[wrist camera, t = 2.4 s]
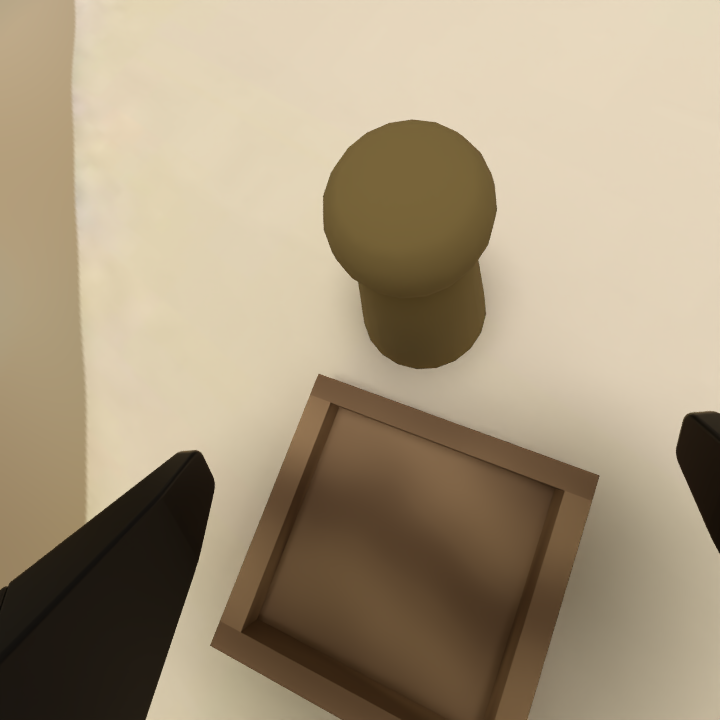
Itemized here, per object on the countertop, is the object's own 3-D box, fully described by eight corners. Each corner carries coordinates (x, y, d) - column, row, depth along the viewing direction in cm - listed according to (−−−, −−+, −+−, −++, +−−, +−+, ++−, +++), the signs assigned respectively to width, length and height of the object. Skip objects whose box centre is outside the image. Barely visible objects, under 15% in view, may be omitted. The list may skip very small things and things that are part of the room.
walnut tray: (493, 763, 18) (500, 808, 16) (236, 624, 21) (210, 645, 19) (581, 474, 20) (599, 475, 18) (332, 383, 23) (318, 373, 21)
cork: (343, 291, 24) (260, 155, 13) (445, 232, 24) (442, 45, 13) (400, 391, 22) (356, 326, 12) (510, 328, 22) (569, 203, 11)
